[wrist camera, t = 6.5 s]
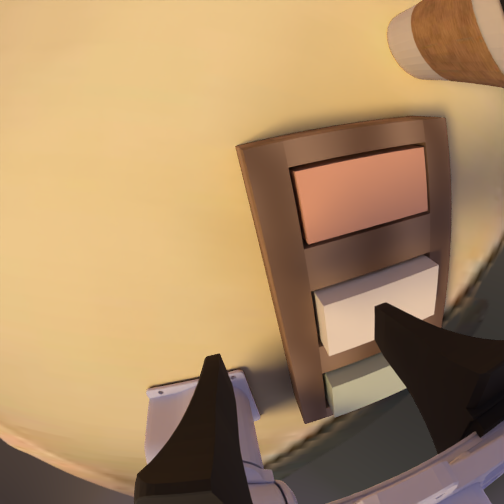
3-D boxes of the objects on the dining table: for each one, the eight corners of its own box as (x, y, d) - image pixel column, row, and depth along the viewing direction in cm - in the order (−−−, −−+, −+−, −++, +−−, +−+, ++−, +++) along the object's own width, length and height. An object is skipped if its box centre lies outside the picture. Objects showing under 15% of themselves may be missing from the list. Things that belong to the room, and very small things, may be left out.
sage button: (320, 386, 27) (334, 417, 23) (316, 355, 25) (332, 387, 22) (402, 354, 28) (422, 380, 24) (406, 322, 26) (428, 347, 22)
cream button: (312, 323, 24) (329, 356, 20) (304, 276, 22) (323, 306, 18) (408, 290, 24) (433, 314, 21) (408, 244, 23) (438, 264, 19)
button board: (294, 394, 29) (304, 424, 25) (235, 146, 19) (242, 150, 16) (413, 349, 30) (432, 372, 26) (412, 115, 20) (445, 117, 16)
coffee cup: (382, -17, 15) (521, -78, 2) (457, 35, 17) (594, 26, 4) (361, 64, 18) (541, 33, 4) (442, 111, 20) (599, 138, 7)
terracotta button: (290, 224, 22) (308, 244, 18) (278, 163, 20) (294, 171, 17) (397, 196, 22) (427, 210, 19) (391, 141, 21) (423, 147, 17)
